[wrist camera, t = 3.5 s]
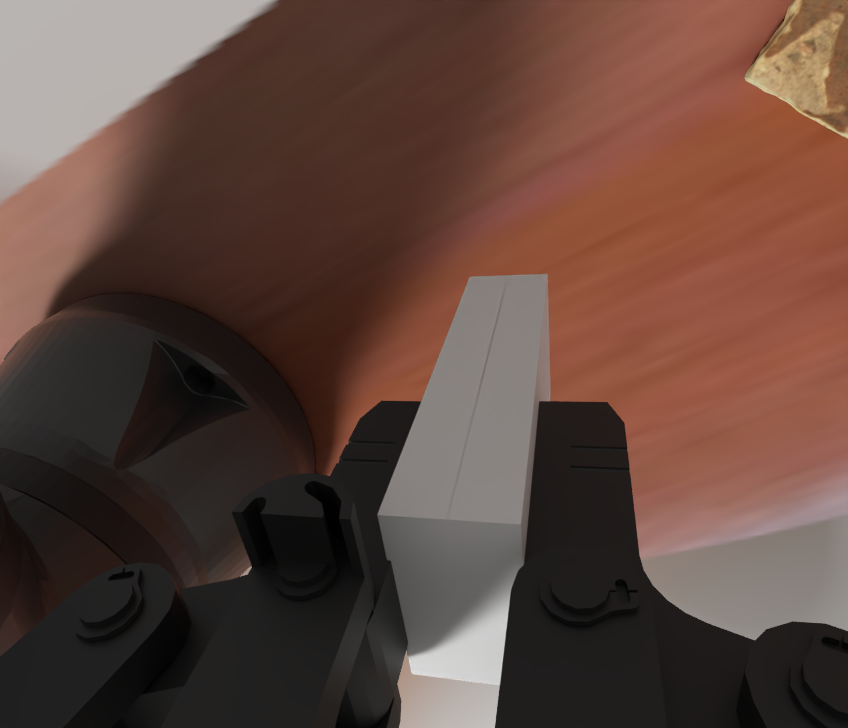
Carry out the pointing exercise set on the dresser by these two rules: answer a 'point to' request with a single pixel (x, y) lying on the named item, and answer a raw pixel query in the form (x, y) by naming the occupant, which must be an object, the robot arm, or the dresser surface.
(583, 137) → the dresser surface
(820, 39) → the shard
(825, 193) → the dresser surface
